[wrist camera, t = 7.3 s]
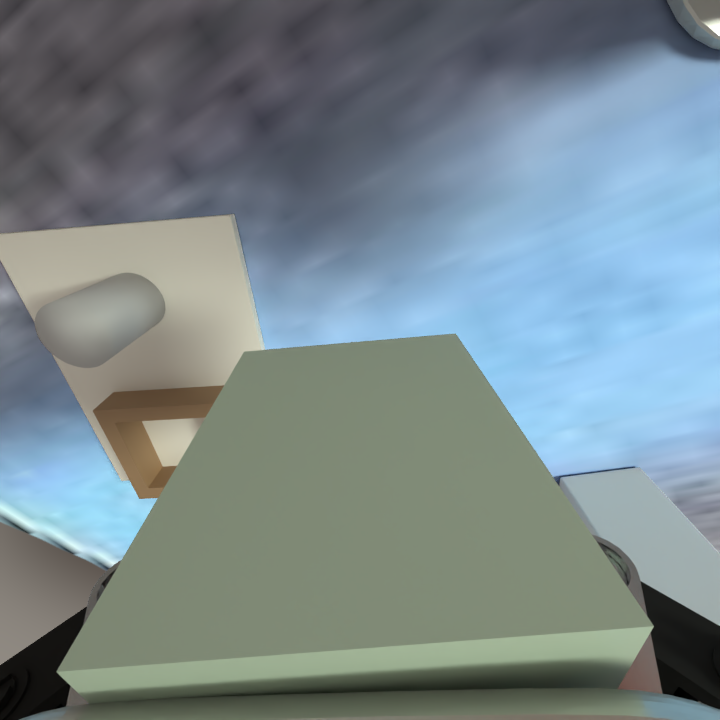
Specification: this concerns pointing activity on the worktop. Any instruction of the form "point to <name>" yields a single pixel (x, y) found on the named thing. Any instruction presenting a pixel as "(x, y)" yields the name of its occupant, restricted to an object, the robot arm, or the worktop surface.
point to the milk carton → (650, 535)
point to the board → (190, 307)
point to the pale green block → (358, 545)
